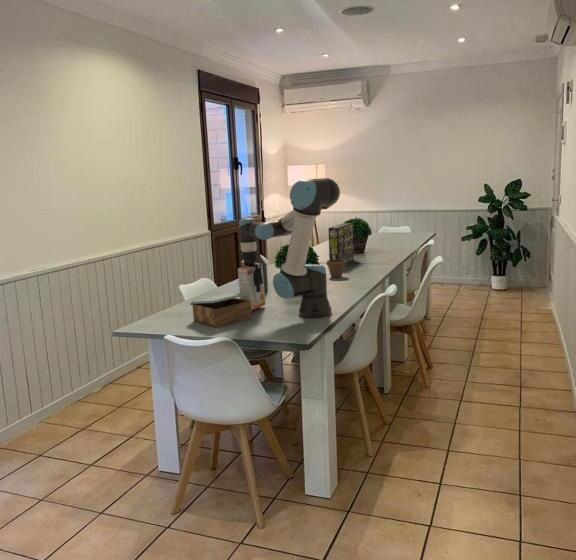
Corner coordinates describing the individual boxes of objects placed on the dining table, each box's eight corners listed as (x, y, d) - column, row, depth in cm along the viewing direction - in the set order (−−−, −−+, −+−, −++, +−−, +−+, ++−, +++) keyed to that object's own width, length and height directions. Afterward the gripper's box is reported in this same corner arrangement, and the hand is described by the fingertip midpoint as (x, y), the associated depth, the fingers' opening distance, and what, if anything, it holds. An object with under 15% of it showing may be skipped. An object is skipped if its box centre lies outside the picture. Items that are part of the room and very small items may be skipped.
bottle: (251, 290, 330) (247, 237, 324) (268, 290, 329) (265, 237, 323) (249, 294, 319) (245, 240, 314) (267, 293, 319) (263, 239, 313)
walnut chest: (252, 318, 269) (251, 299, 267) (215, 327, 255) (214, 308, 254) (228, 311, 283) (226, 294, 281) (192, 320, 270) (190, 302, 268)
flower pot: (350, 276, 355) (349, 260, 353) (337, 279, 348) (336, 262, 346) (336, 274, 364) (335, 258, 362) (323, 277, 356) (322, 261, 354)
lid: (249, 294, 267) (249, 292, 267) (213, 302, 254) (213, 300, 254) (227, 295, 280) (227, 293, 280) (192, 303, 267) (192, 301, 267)
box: (344, 260, 417) (343, 222, 412) (354, 260, 414) (353, 222, 409) (329, 268, 387) (327, 228, 382) (340, 268, 384) (338, 228, 379)
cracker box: (255, 304, 291) (252, 263, 287) (266, 305, 288) (263, 263, 284) (240, 311, 279) (237, 267, 275) (250, 311, 276) (247, 268, 272)
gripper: (268, 250, 273) (272, 298, 277) (242, 248, 288) (246, 294, 292) (256, 252, 268) (259, 301, 272) (230, 250, 283) (234, 296, 287)
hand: (252, 297), depth 282 cm, fingers closed on cracker box, 7 cm apart
